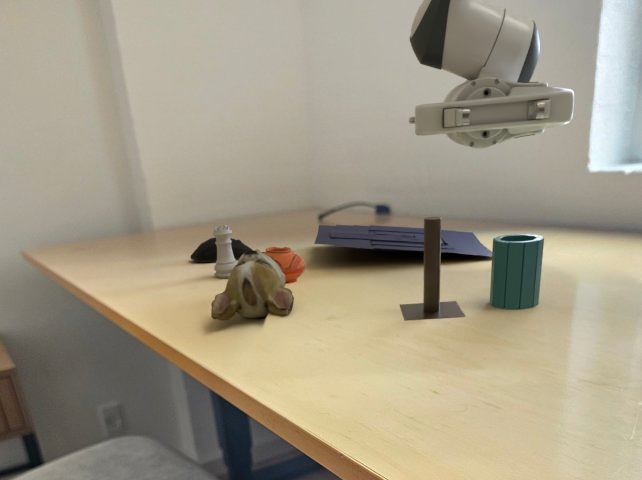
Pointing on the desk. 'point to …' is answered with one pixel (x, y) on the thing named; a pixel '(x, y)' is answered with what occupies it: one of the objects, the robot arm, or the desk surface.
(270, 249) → the pot
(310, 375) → the desk surface
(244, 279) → the ceramic sculpture
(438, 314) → the stand
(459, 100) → the robot arm
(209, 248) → the gaming mouse
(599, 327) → the desk surface
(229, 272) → the rook chess piece
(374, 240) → the papers
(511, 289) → the teal grooved cylinder
